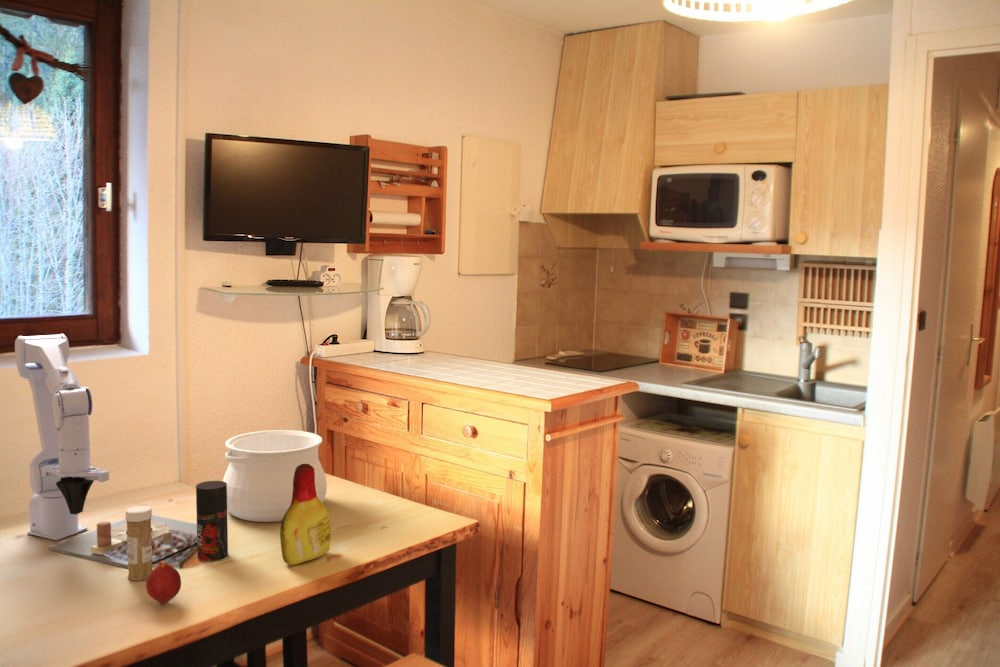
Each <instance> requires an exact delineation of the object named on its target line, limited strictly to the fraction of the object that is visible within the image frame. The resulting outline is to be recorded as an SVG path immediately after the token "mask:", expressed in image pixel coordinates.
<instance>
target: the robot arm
mask: <svg viewBox="0 0 1000 667" xmlns="http://www.w3.org/2000/svg"><path fill="white" fill-rule="evenodd" d="M14 355H15V362H16V368H17V372H18V374H19V377H21V378H23V379H26V380H27V381H28V383H29V386H30V389H31V393H32V398H33V399H32V400H33V406H34V411H35V418H36V423H37V424H36V425H37V429H38V436H39V441H40V447H41V451H39V452H38V453H37V454H35V455H34V456H33V457H32V459H31V461H30V463H29V480H30V487H31V491H32V492H33V495H32V496H31V498H30V501H29V504H28V506H29V507H28V509H29V527H30V529H29V530H27V531H26V534H28V535H32V536H36V537H40V538H45V539H48V540H49V539H50V540H55V541H58V540H62V539H64V538H67V537H70V536H72V535H76V534H78V533H81V532H84V531H86V530H88V526H84V525H81V524H79V514H81V513H83V511H84V506H85V503H86V499H87V496H88V493H89V490H90V489H91V487H92V485H93V483H94V481H97V482H98V483H105V482H107V481H109V480H110V471H109V470H107V469H101V468H98V467H95V466H91V450H90V449H91V448H90V446H91V444H90V443H91V442H90V441H91V440H90V419H89V418H90V417H89V416H91V415H92V414H93V406H94V405H93V397H92V394H91V390H90V389H89V387H88V386H85V385H81V382H80V381H79V379H78V377H77V375H76V372H75V371H74V370H72V369H71V368H70V367H69V368H68V367H67V364H68V359H69V356H70V345H69V339H68V337H67V336H66V335H65V334H64V333H59V334H46V335H44V334H43V335H29V336H28V335H27V336H23V335H18V336H17V338H16V339H15V341H14Z"/></svg>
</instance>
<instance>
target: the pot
mask: <svg viewBox="0 0 1000 667" xmlns="http://www.w3.org/2000/svg"><path fill="white" fill-rule="evenodd" d="M322 442H323V438H322V436H320V435H318V434H317V433H313V432H311V431H310V432H309V431H303V430H292V429H291V430H290V429H276V430H275V429H274V430H271V429H270V430H260V431H253V432H252V431H251V432H246V433H242V434H238V435H235V436H233V437H230V438H228V439H227V440H225V445H224V446H225V447H226V449H228V451H227V452H225V453H224V459H225V461H227V462H229V464H228V466H227V469H226V472H225V473H224V476H223V480H222V481H223V482H226V483H227V512H229V513H230V515H232V516H233V517H236V518H237V519H241V520H244V521H250V522H254V523H255V522H257V523H276V522H277V523H278V522H282V519H283V517H284V515H285V513H286V511H287V510H288V509H289V507H290V505H291V502H292V494H293V478H294V473H295V469H296V468H297V466H299V465H301V464H309V465H311V466H312V467H313V468H314V472H315V488H316V495H317V498H318V499H319V500H320V501H321V502H322V503H323V504H324V501H325V497H326V495H327V491H328V490H327V485H328V483H327V479H326V473H325V471H324V469H323V466H322V463H321V461H320V459H319V447H320V445H322Z"/></svg>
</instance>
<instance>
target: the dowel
mask: <svg viewBox="0 0 1000 667" xmlns="http://www.w3.org/2000/svg"><path fill="white" fill-rule="evenodd" d="M171 541H172V531H165V532H163V543H169V542H171Z"/></svg>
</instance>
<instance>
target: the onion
mask: <svg viewBox="0 0 1000 667" xmlns="http://www.w3.org/2000/svg"><path fill="white" fill-rule="evenodd" d="M181 587H182V579H181V575H180V573H179V571H178V570H177V569H176V568H175V567H173V566H172V565H170V564H168V562H166V561H165V560H160V562H159V563H158V566H156V567H154V569H153V571H152V572H151V573H150V575H149V576H148V578H147V579H146V582H145V589H146V593H147V595H148V596H149V597H150V598H151V599H153V600H154V601H156V602H158V603H159V604H160V605H167V604H168V603H169V602H170V601H172V600H173V599H174V598H175V597H176V596H177V595H178V593H179V592H180V590H181Z"/></svg>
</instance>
